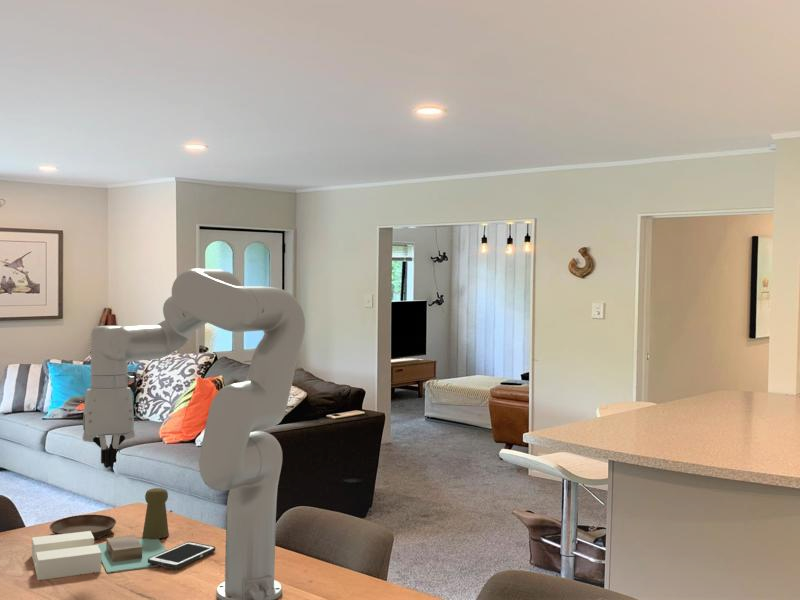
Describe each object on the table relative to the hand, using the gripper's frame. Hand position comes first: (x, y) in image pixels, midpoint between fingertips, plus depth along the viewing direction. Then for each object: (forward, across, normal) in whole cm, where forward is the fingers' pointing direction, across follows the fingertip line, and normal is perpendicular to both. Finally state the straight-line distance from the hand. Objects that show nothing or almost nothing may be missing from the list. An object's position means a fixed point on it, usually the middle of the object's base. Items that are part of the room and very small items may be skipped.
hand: (108, 466), depth 176 cm
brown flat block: (+17, -3, 0) cm, 17 cm away
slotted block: (+20, +9, +1) cm, 22 cm away
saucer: (+20, +3, -19) cm, 28 cm away
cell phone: (+20, -14, +8) cm, 26 cm away
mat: (+20, -5, +1) cm, 21 cm away
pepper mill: (+20, -12, -10) cm, 25 cm away
